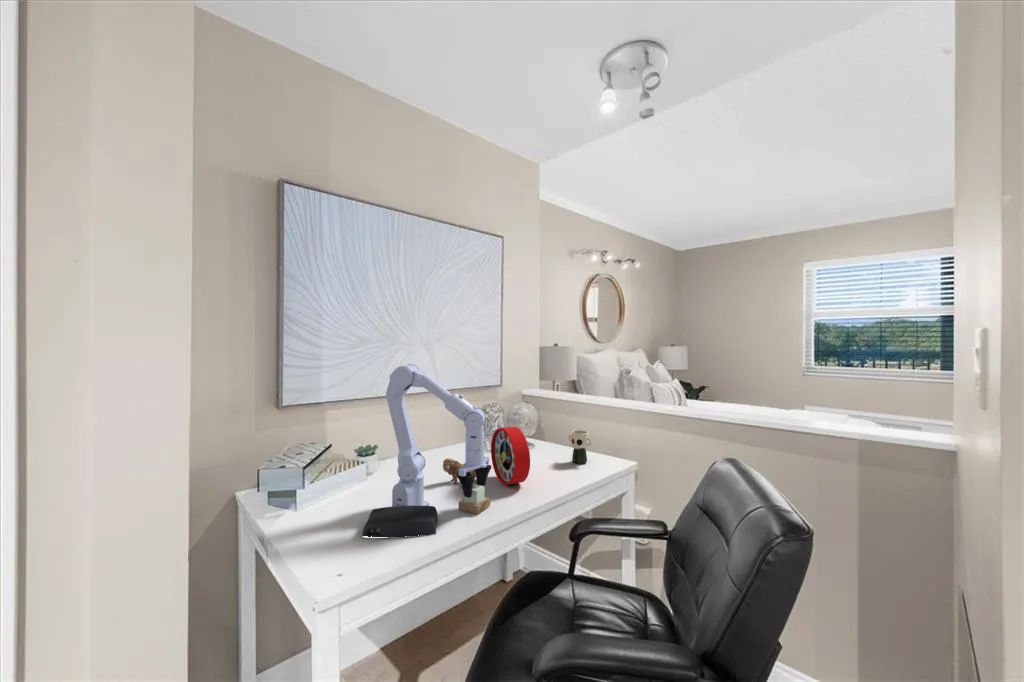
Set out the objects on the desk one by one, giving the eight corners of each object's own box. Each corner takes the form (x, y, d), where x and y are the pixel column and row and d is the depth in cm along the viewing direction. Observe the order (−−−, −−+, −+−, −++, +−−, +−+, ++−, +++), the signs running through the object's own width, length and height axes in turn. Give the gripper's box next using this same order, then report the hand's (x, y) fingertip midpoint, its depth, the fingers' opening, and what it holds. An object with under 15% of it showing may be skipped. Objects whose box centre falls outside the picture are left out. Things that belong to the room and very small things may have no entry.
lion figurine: (443, 486, 146) (444, 461, 146) (441, 481, 151) (441, 456, 151) (484, 481, 151) (484, 457, 151) (480, 477, 156) (480, 453, 156)
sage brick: (477, 504, 124) (477, 489, 124) (464, 501, 126) (464, 486, 126) (484, 498, 128) (484, 484, 128) (472, 496, 130) (472, 482, 130)
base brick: (478, 515, 123) (478, 506, 123) (458, 510, 126) (458, 502, 126) (490, 506, 129) (490, 498, 129) (471, 502, 132) (471, 494, 132)
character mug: (564, 461, 175) (564, 431, 175) (573, 457, 180) (573, 428, 180) (586, 467, 168) (586, 435, 168) (595, 463, 173) (595, 432, 173)
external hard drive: (370, 519, 121) (370, 505, 120) (438, 516, 123) (438, 502, 123) (360, 541, 108) (360, 526, 108) (435, 537, 110) (435, 522, 110)
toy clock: (490, 475, 158) (491, 423, 157) (504, 472, 160) (504, 421, 160) (515, 493, 140) (515, 434, 140) (530, 490, 143) (530, 432, 142)
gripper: (472, 456, 119) (472, 503, 119) (497, 444, 132) (497, 487, 132) (452, 453, 122) (452, 498, 122) (478, 442, 135) (478, 483, 135)
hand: (474, 492), depth 127 cm, fingers open, 7 cm apart
